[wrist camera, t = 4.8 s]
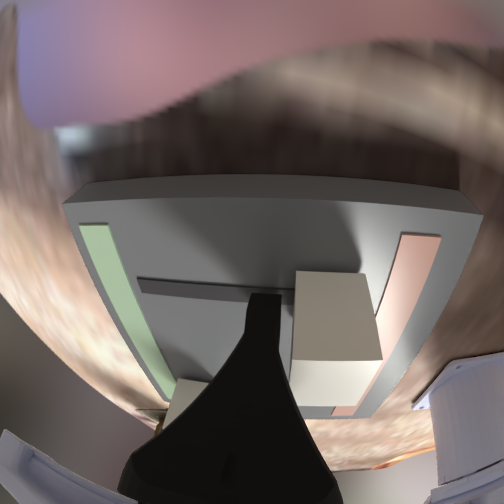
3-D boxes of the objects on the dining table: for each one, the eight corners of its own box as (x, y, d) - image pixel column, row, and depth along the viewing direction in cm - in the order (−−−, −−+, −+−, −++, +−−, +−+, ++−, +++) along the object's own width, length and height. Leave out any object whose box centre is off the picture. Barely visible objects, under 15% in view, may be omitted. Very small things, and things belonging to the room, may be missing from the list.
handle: (216, 384, 15) (203, 437, 13) (222, 403, 17) (212, 449, 14) (178, 378, 16) (162, 427, 13) (189, 398, 18) (176, 442, 15)
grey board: (460, 190, 9) (485, 217, 7) (368, 395, 19) (370, 418, 17) (87, 183, 11) (60, 205, 10) (170, 380, 21) (163, 402, 20)
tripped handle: (365, 273, 9) (383, 360, 6) (349, 329, 11) (356, 405, 8) (296, 270, 10) (292, 359, 7) (291, 327, 11) (286, 405, 9)
